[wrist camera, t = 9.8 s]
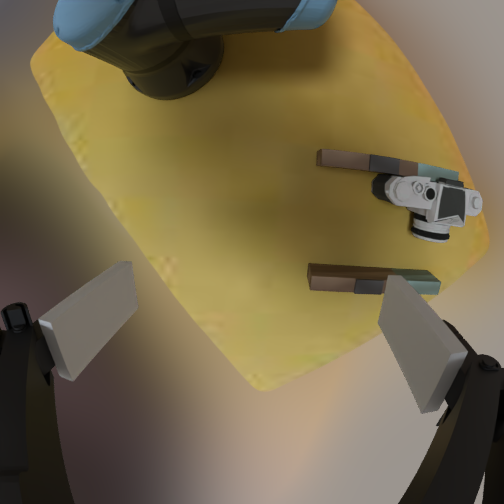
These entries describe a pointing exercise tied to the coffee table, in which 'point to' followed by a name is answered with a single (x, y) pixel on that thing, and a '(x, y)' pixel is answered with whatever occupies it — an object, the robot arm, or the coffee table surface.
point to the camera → (429, 203)
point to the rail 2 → (367, 279)
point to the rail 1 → (381, 165)
